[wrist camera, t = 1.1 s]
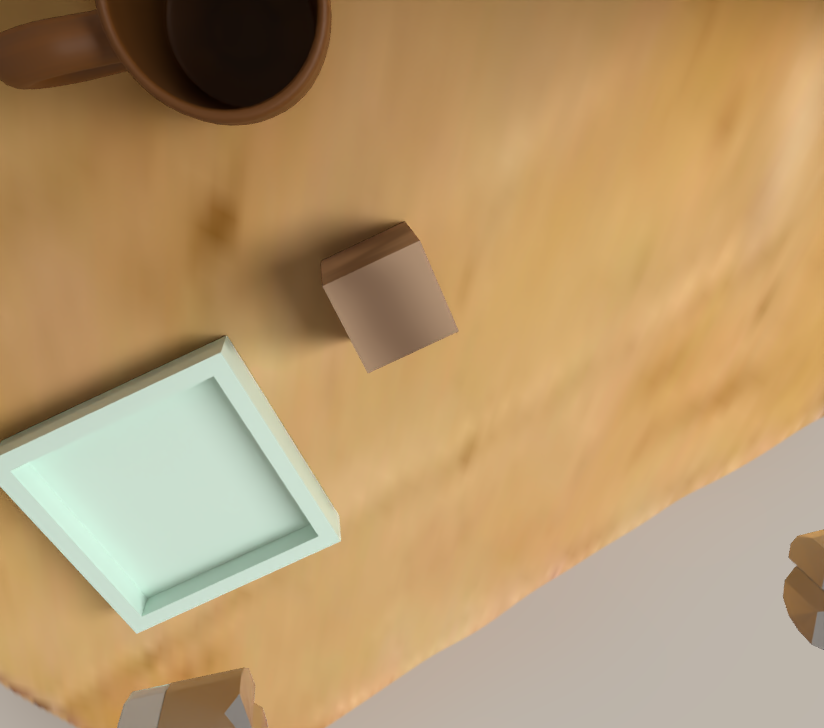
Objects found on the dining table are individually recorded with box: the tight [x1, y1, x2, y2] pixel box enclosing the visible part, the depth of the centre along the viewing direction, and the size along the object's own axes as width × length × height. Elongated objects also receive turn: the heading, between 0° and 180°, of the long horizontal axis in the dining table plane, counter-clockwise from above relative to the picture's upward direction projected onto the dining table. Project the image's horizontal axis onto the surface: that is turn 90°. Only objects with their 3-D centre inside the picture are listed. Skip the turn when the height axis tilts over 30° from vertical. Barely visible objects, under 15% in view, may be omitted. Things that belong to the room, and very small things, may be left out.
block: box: [321, 222, 458, 373], centre depth 31 cm, size 5×5×5 cm
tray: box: [0, 335, 341, 633], centre depth 36 cm, size 14×14×2 cm
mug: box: [0, 0, 331, 125], centre depth 24 cm, size 12×8×9 cm, turn 104°
